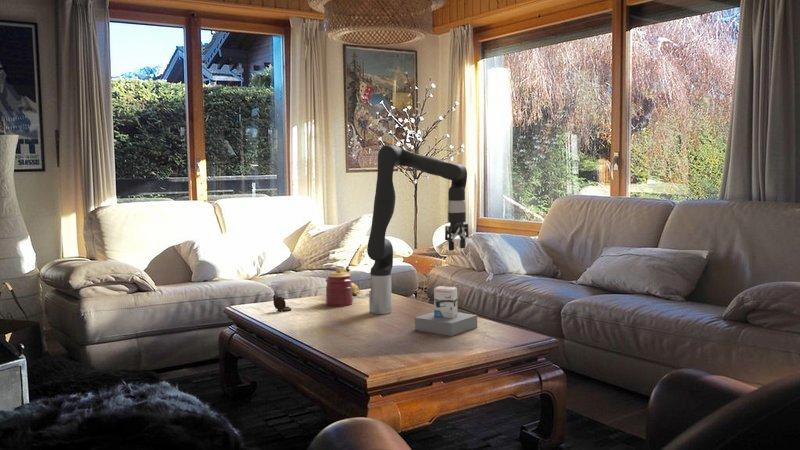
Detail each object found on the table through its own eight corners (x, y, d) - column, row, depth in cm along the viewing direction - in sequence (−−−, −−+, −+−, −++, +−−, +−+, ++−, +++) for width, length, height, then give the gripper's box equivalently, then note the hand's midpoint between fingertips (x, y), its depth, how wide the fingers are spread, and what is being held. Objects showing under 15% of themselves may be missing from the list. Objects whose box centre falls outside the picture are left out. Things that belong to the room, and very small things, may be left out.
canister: (351, 306, 329) (351, 269, 327) (324, 307, 329) (323, 270, 327) (354, 301, 342) (353, 265, 340) (327, 301, 342) (326, 266, 340)
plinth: (415, 329, 280) (414, 317, 280) (441, 321, 294) (440, 309, 294) (452, 336, 269) (451, 323, 269) (477, 327, 283) (477, 315, 282)
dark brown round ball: (293, 309, 324) (293, 294, 324) (284, 313, 317) (284, 297, 316) (279, 308, 327) (278, 293, 327) (269, 311, 320) (269, 296, 319)
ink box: (433, 316, 281) (433, 287, 280) (438, 314, 285) (438, 285, 284) (453, 318, 277) (453, 289, 276) (457, 316, 281) (457, 287, 280)
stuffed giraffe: (331, 294, 363) (332, 264, 361) (365, 293, 368) (366, 263, 366) (338, 301, 347) (338, 269, 346) (373, 299, 353) (373, 268, 351)
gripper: (458, 210, 303) (459, 247, 304) (439, 211, 291) (440, 250, 293) (473, 210, 298) (473, 248, 299) (454, 212, 287) (454, 251, 288)
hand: (457, 249), depth 296 cm, fingers open, 8 cm apart
